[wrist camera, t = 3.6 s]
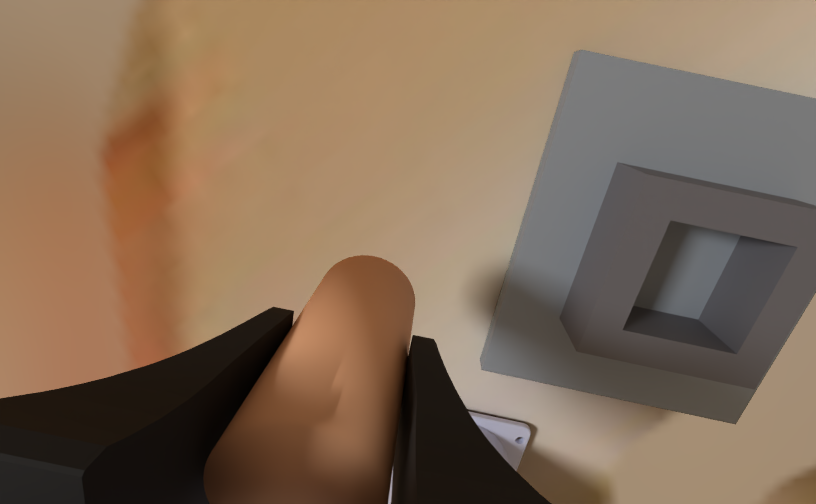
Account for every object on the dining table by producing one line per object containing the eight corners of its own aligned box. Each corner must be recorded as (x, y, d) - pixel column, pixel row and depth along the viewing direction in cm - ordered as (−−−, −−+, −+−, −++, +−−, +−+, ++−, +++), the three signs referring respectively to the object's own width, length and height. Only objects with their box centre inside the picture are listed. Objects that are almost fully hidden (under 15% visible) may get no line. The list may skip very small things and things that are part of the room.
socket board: (724, 411, 24) (776, 470, 20) (480, 359, 24) (486, 408, 20) (896, 118, 18) (1012, 126, 14) (574, 51, 18) (607, 41, 15)
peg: (405, 350, 16) (372, 576, 9) (315, 331, 16) (203, 540, 9) (423, 266, 15) (402, 445, 7) (324, 246, 15) (203, 404, 7)
